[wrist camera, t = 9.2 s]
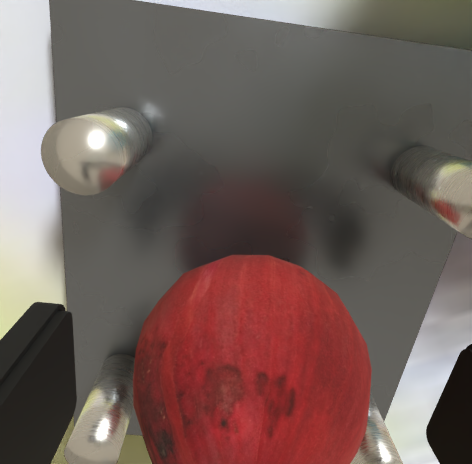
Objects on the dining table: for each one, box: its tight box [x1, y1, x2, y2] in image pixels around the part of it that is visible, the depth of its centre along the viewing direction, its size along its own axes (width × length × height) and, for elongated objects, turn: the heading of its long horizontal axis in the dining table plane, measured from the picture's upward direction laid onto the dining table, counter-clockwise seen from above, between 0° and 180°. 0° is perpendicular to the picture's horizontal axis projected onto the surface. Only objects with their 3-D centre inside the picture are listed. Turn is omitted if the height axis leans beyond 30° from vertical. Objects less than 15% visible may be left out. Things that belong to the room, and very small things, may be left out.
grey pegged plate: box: [41, 0, 472, 464], centre depth 12 cm, size 13×16×5 cm
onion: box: [133, 255, 372, 464], centre depth 9 cm, size 6×6×8 cm
